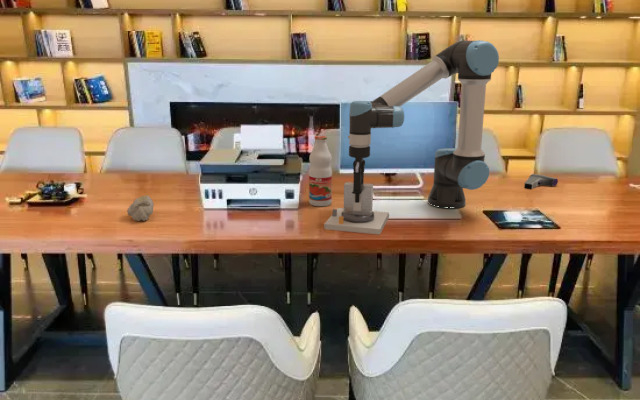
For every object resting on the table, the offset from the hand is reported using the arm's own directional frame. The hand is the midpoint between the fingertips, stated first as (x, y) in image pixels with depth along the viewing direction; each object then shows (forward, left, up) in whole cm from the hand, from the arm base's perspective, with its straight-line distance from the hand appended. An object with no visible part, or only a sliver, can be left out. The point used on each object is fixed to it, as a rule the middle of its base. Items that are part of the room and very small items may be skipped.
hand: (358, 208), depth 197 cm
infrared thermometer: (-70, -75, -6) cm, 103 cm away
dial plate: (0, 0, -6) cm, 6 cm away
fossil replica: (+79, +18, -6) cm, 81 cm away
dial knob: (0, 0, -3) cm, 3 cm away
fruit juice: (+20, -20, -6) cm, 29 cm away
